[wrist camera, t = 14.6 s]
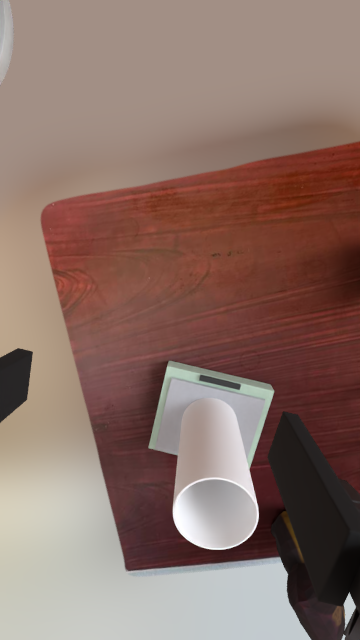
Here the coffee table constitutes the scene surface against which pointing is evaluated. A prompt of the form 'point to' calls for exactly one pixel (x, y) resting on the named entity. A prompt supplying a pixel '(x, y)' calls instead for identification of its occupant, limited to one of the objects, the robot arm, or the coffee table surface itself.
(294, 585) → the figurine
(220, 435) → the cup
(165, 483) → the coffee table surface
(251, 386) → the scale
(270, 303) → the coffee table surface
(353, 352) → the coffee table surface
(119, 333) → the coffee table surface
